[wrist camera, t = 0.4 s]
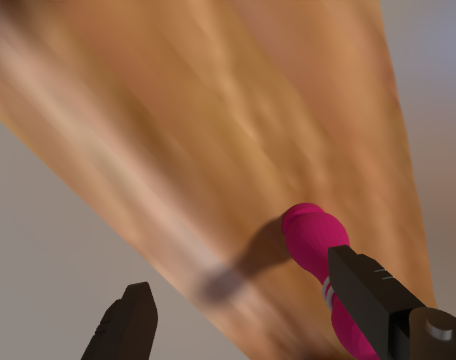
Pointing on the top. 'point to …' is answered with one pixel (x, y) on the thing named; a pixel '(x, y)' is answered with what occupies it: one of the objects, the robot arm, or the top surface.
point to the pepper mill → (324, 267)
